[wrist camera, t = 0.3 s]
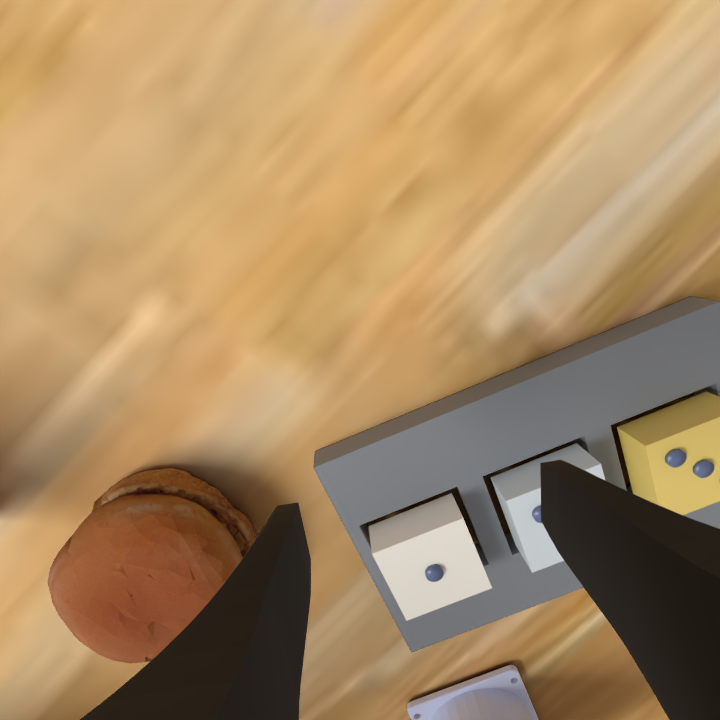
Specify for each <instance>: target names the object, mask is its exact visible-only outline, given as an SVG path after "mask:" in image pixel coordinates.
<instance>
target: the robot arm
mask: <svg viewBox="0 0 720 720" xmlns="http://www.w3.org/2000/svg"><path fill="white" fill-rule="evenodd" d="M540 476H541V522H542V524H543V525H544V527H545V529H546V531H547V533H548V535H549V537H550V538H551V540H552V542H553V544H554V545H555V547H556V549H557V551H558V552H559V554H560V555H561V557H562V558H563V559H564V561H565V562H566V564H567V565H568V566H569V568H570V569H571V571H572V572H573V573H574V575H575V576H576V577H577V579H578V580H579V582H580V583H581V584H582V586H583V587H584V588H585V590H586V591H587V592H588V594H589V595H590V597H591V598H592V599H593V601H594V602H595V603H596V605H597V606H598V607H599V609H600V610H601V612H602V613H603V614H604V616H605V617H606V618H607V620H608V621H609V622H610V624H611V625H612V627H613V628H614V629H615V631H616V632H617V634H618V635H619V637H620V638H621V640H622V641H623V643H624V644H625V646H626V647H627V649H628V651H629V652H630V654H631V656H632V657H633V659H634V660H635V662H636V664H637V665H638V667H639V669H640V670H641V672H642V674H643V675H644V677H645V679H646V680H647V682H648V683H649V685H650V687H651V688H652V690H653V692H654V694H655V695H656V697H657V699H658V701H659V702H660V704H661V706H662V707H663V709H664V711H665V713H666V714H667V716H668V718H669V719H670V720H720V529H719V528H716V527H713V526H710V525H707V524H705V523H702V522H699V521H696V520H694V519H691V518H689V517H686V516H683V515H681V514H678V513H676V512H674V511H671V510H669V509H667V508H664V507H662V506H659V505H657V504H655V503H652V502H650V501H648V500H646V499H643V498H641V497H639V496H637V495H635V494H632V493H630V492H628V491H626V490H624V489H622V488H620V487H618V486H616V485H613V484H611V483H609V482H607V481H605V480H603V479H601V478H599V477H597V476H595V475H593V474H591V473H589V472H587V471H585V470H583V469H581V468H578V467H576V466H574V465H572V464H570V463H568V462H565V461H563V460H555V461H549V462H543V463H540ZM310 596H311V558H310V554H309V549H308V545H307V540H306V536H305V531H304V527H303V522H302V518H301V513H300V509H299V504H298V503H293V504H287V505H281V506H277V507H276V509H275V510H274V511H273V513H272V514H271V516H270V518H269V519H268V521H267V522H266V524H265V526H264V527H263V529H262V530H261V532H260V533H259V535H258V537H257V538H256V540H255V541H254V543H253V544H252V546H251V547H250V548H249V550H248V551H247V553H246V554H245V556H244V557H243V559H242V560H241V562H240V563H239V564H238V566H237V567H236V568H235V570H234V571H233V572H232V574H231V575H230V576H229V578H228V579H227V580H226V582H225V583H224V584H223V585H222V587H221V588H220V589H219V591H218V592H217V593H216V594H215V595H214V597H213V598H212V599H211V600H210V601H209V603H208V604H207V605H206V606H205V607H204V608H203V609H202V611H201V612H200V613H199V614H198V615H197V616H196V617H195V618H194V619H193V620H192V621H191V623H190V624H189V625H188V626H187V627H186V628H185V629H184V630H183V631H182V632H181V633H180V634H178V635H177V636H176V637H175V638H174V639H173V640H172V641H171V642H170V643H169V644H168V645H167V646H166V647H165V648H164V649H163V650H162V651H161V652H160V653H159V654H158V655H157V656H156V657H155V658H154V659H153V660H152V661H151V662H149V663H148V664H147V665H146V666H145V667H144V668H143V669H142V670H140V671H139V672H138V673H137V674H136V675H135V676H134V677H132V678H131V679H130V680H129V681H128V682H126V683H125V684H124V685H123V686H122V687H121V688H119V689H118V690H117V691H116V692H115V693H113V694H112V695H111V696H110V697H108V698H107V699H106V700H105V701H104V702H102V703H101V704H100V705H98V706H97V707H96V708H94V709H93V710H92V711H90V712H89V713H88V714H87V715H85V716H84V717H83V718H81V719H80V720H299V697H300V684H301V675H302V666H303V657H304V649H305V640H306V632H307V623H308V614H309V605H310ZM407 712H408V714H409V716H410V718H411V720H539V719H538V717H537V714H536V712H535V710H534V707H533V705H532V702H531V700H530V698H529V695H528V693H527V691H526V688H525V686H524V683H523V681H522V679H521V676H520V674H519V672H518V669H517V667H516V666H514V665H508V666H505V667H502V668H500V669H497V670H494V671H492V672H489V673H486V674H483V675H481V676H478V677H475V678H473V679H470V680H467V681H465V682H462V683H459V684H456V685H454V686H451V687H448V688H446V689H443V690H440V691H438V692H435V693H432V694H429V695H427V696H424V697H421V698H419V699H416V700H413V701H411V702H409V703H408V704H407Z"/></svg>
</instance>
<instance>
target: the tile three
mask: <svg viewBox="0 0 720 720" xmlns="http://www.w3.org/2000/svg"><path fill="white" fill-rule="evenodd" d="M617 429H618V434H619V438H620V442H621V446H622V450H623V454H624V458H625V462H626V466H627V471H628V475H629V479H630V483H631V487H632V491H633V494H635V495H637V496H639V497H641V498H643V499H646V500H648V501H650V502H652V503H655V504H657V505H659V506H662V507H664V508H667V509H669V510H671V511H674V512H676V513H678V514H681V515H685V514H687V513H690V512H693V511H695V510H698V509H700V508H703V507H706V506H708V505H711V504H714V503H716V502H719V501H720V397H719V396H716V395H714V394H711V393H709V392H707V391H706V392H704V393H701V394H699V395H696V396H694V397H691V398H689V399H686V400H684V401H681V402H679V403H676V404H674V405H671V406H669V407H666V408H664V409H661V410H659V411H656V412H654V413H651V414H648V415H646V416H643V417H641V418H638V419H636V420H633V421H631V422H628V423H626V424H623V425H621V426H618V427H617Z"/></svg>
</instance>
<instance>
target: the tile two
mask: <svg viewBox="0 0 720 720" xmlns="http://www.w3.org/2000/svg"><path fill="white" fill-rule="evenodd" d="M555 460H563V461H565V462H568V463H570V464H572V465H574V466H576V467H578V468H581V469H583V470H585V471H587V472H589V473H591V474H593V475H595V476H597V477H599V478H601V479H603V480H605V477H604V473H603V469H602V466H601V463H600V462H598V461H597V460H596V459H595V458H594V457H592V456H591V455H590V454H589V453H588V452H587V451H585V450H584V449H583V448H582V447H581V446H579V445H578V444H577V443H576V444H573V445H571V446H568V447H566V448H563V449H561V450H558V451H556V452H553V453H551V454H548V455H546V456H543V457H541V458H538V459H536V460H533V461H531V462H528V463H526V464H523V465H521V466H518V467H516V468H513V469H511V470H508V471H506V472H503V473H500V474H498V475H495V476H493V477H490V478H491V480H492V483H493V486H494V488H495V491H496V494H497V497H498V499H499V502H500V505H501V507H502V510H503V513H504V515H505V518H506V521H507V523H508V526H509V529H510V532H511V534H512V537H513V540H514V542H515V545H516V547H517V548H518V550H519V552H520V553H521V555H522V557H523V558H524V560H525V562H526V563H527V565H528V567H529V568H530V570H531V572H532V573H533V572H536V571H538V570H541V569H544V568H546V567H549V566H551V565H554V564H557V563H559V562H562V561H564V559H563V558H562V557H561V555H560V554H559V552H558V551H557V549H556V547H555V545H554V544H553V542H552V540H551V538H550V537H549V535H548V533H547V531H546V529H545V527H544V525H543V524H542V522H541V476H540V463H543V462H549V461H555Z"/></svg>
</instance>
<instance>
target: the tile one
mask: <svg viewBox="0 0 720 720" xmlns="http://www.w3.org/2000/svg"><path fill="white" fill-rule="evenodd" d="M368 527H369V535H370V543H371V550H372V555H373V557H374V559H375V561H376V563H377V565H378V567H379V569H380V571H381V572H382V574H383V576H384V578H385V580H386V582H387V584H388V586H389V588H390V590H391V592H392V594H393V596H394V598H395V600H396V601H397V603H398V605H399V607H400V609H401V611H402V613H403V615H404V617H405V619H406V621H408V620H410V619H413V618H416V617H418V616H421V615H423V614H426V613H429V612H431V611H434V610H436V609H439V608H442V607H444V606H447V605H450V604H452V603H455V602H457V601H460V600H463V599H465V598H468V597H470V596H473V595H476V594H478V593H481V592H483V591H486V590H489V589H491V588H492V586H491V584H490V582H489V579H488V577H487V574H486V572H485V569H484V567H483V565H482V562H481V560H480V557H479V555H478V552H477V550H476V548H475V545H474V543H473V540H472V538H471V535H470V533H469V531H468V528H467V526H466V523H465V521H464V518H463V516H462V514H461V512H460V510H459V508H458V506H457V503H456V501H455V499H454V497H453V495H452V493H450V494H448V495H445V496H443V497H440V498H438V499H435V500H433V501H430V502H428V503H425V504H423V505H420V506H418V507H415V508H413V509H410V510H408V511H405V512H403V513H400V514H398V515H395V516H393V517H390V518H388V519H385V520H383V521H380V522H378V523H375V524H373V525H370V526H368Z"/></svg>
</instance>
